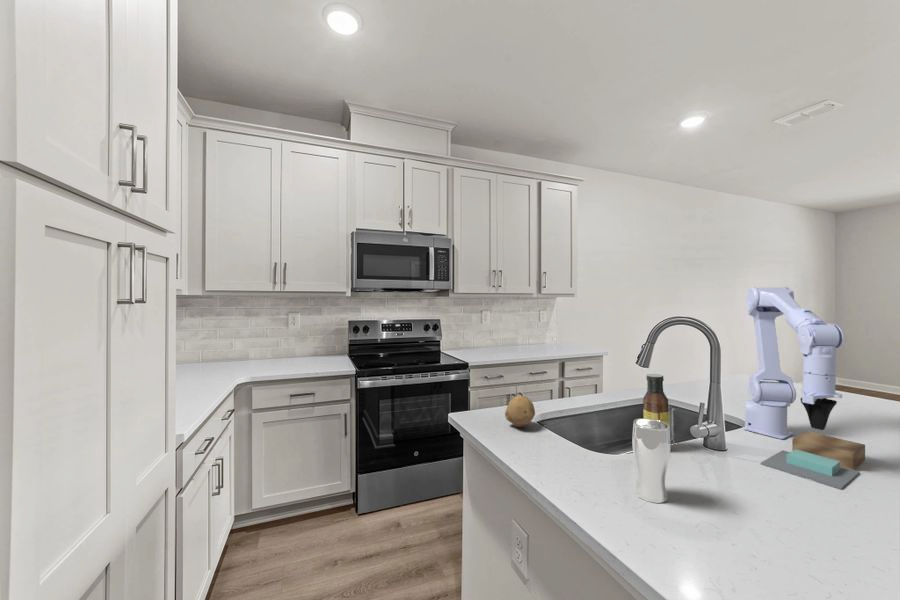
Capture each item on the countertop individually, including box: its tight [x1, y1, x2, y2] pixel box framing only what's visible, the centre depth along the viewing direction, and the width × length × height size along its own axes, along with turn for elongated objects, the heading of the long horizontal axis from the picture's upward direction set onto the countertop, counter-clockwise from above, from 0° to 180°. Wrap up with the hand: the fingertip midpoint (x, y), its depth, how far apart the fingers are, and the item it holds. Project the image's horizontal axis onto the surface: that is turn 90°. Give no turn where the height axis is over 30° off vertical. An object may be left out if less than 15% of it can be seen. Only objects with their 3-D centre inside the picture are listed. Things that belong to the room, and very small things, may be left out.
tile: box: [786, 449, 840, 476], centre depth 90 cm, size 8×6×2 cm
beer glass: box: [631, 418, 671, 504], centre depth 77 cm, size 7×7×15 cm
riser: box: [791, 430, 866, 470], centre depth 95 cm, size 11×10×4 cm
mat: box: [760, 450, 861, 490], centre depth 89 cm, size 14×14×1 cm
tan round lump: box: [504, 395, 536, 428], centre depth 116 cm, size 9×9×10 cm
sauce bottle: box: [642, 373, 671, 433], centre depth 101 cm, size 6×6×20 cm
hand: (817, 428), depth 91 cm, fingers closed
